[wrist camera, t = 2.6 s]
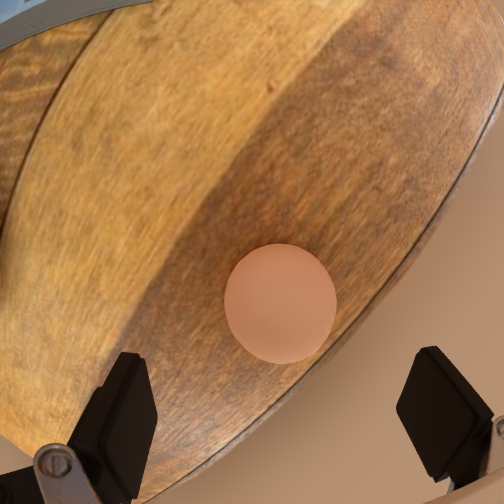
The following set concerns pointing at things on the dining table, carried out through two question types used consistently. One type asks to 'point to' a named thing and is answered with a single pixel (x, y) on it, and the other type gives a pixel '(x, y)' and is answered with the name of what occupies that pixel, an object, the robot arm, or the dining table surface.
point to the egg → (280, 303)
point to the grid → (47, 15)
